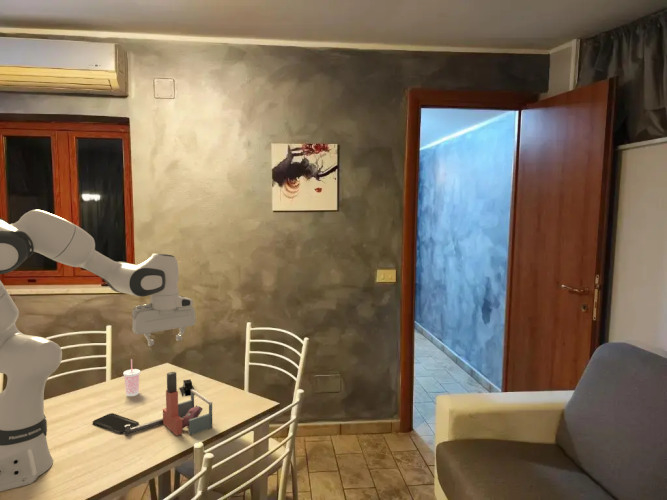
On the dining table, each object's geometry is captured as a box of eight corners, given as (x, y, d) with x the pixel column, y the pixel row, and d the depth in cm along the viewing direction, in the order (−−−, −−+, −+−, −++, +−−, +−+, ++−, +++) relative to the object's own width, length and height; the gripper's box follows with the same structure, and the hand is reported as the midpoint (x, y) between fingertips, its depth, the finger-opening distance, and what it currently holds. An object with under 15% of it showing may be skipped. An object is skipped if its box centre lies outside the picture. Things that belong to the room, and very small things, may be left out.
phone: (111, 412, 163) (140, 422, 156) (111, 415, 164) (140, 425, 157) (90, 421, 156) (120, 432, 150) (90, 425, 157) (120, 436, 150)
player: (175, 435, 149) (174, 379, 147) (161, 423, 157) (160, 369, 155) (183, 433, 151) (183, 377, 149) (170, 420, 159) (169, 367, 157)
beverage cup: (120, 394, 181) (119, 359, 179) (135, 389, 186) (134, 355, 184) (129, 398, 177) (128, 363, 176) (143, 393, 182) (143, 359, 181)
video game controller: (185, 435, 153) (193, 418, 152) (173, 428, 154) (182, 411, 152) (198, 421, 163) (206, 405, 162) (188, 415, 163) (196, 399, 162)
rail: (125, 435, 149) (125, 426, 149) (124, 434, 150) (124, 425, 150) (167, 422, 159) (167, 414, 158) (166, 421, 159) (166, 413, 159)
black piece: (199, 396, 181) (199, 385, 181) (180, 399, 178) (179, 388, 178) (194, 385, 192) (194, 374, 192) (176, 388, 189) (175, 377, 189)
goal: (190, 435, 150) (189, 409, 149) (171, 419, 161) (171, 394, 160) (212, 427, 156) (212, 402, 155) (193, 412, 166) (192, 388, 165)
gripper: (135, 307, 142) (136, 351, 143) (197, 299, 155) (197, 339, 157) (128, 304, 147) (129, 346, 148) (189, 296, 160) (190, 335, 162)
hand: (165, 342), depth 152 cm, fingers open, 8 cm apart
